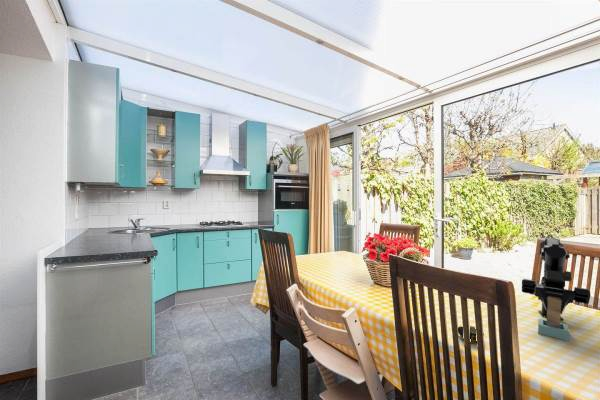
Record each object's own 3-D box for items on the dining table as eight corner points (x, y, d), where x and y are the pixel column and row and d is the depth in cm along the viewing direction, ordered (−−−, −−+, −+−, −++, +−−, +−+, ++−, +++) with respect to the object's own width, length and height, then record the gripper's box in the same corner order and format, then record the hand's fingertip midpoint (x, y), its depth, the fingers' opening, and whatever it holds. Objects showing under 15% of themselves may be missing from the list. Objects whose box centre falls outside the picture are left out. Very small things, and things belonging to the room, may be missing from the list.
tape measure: (456, 334, 101) (457, 323, 101) (478, 337, 100) (479, 326, 100) (463, 344, 94) (464, 332, 94) (487, 347, 93) (487, 335, 93)
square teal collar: (538, 326, 110) (538, 318, 110) (566, 332, 106) (567, 324, 105) (538, 333, 104) (538, 324, 104) (568, 340, 99) (569, 332, 99)
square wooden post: (546, 326, 107) (547, 295, 107) (559, 329, 105) (560, 298, 105) (546, 329, 105) (548, 298, 104) (559, 332, 102) (561, 300, 102)
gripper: (523, 257, 113) (520, 293, 105) (591, 266, 102) (594, 306, 93) (522, 274, 120) (520, 309, 111) (586, 284, 108) (589, 323, 100)
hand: (553, 311), depth 104 cm, fingers closed on square wooden post, 3 cm apart
